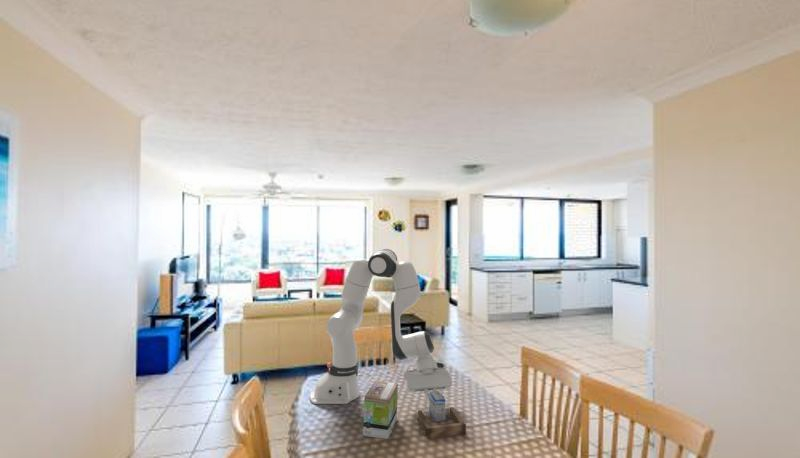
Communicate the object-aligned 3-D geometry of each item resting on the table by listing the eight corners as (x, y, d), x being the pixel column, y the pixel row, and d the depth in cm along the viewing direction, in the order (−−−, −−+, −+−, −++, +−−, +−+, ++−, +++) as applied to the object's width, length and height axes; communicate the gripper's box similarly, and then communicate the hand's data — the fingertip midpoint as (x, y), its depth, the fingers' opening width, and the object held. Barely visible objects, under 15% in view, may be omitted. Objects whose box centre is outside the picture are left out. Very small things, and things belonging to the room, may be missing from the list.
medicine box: (428, 412, 153) (429, 391, 153) (438, 410, 154) (439, 390, 154) (434, 421, 145) (435, 400, 145) (445, 420, 147) (445, 398, 147)
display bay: (427, 438, 134) (427, 428, 134) (417, 419, 147) (417, 410, 147) (465, 433, 137) (465, 424, 137) (452, 415, 150) (453, 407, 150)
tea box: (389, 440, 133) (389, 399, 133) (362, 436, 135) (363, 396, 135) (397, 418, 147) (398, 382, 147) (373, 415, 149) (374, 379, 149)
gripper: (404, 367, 159) (409, 399, 150) (449, 363, 164) (456, 395, 154) (402, 373, 164) (406, 405, 154) (445, 369, 168) (452, 401, 158)
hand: (432, 400), depth 154 cm, fingers closed, pressing on medicine box
